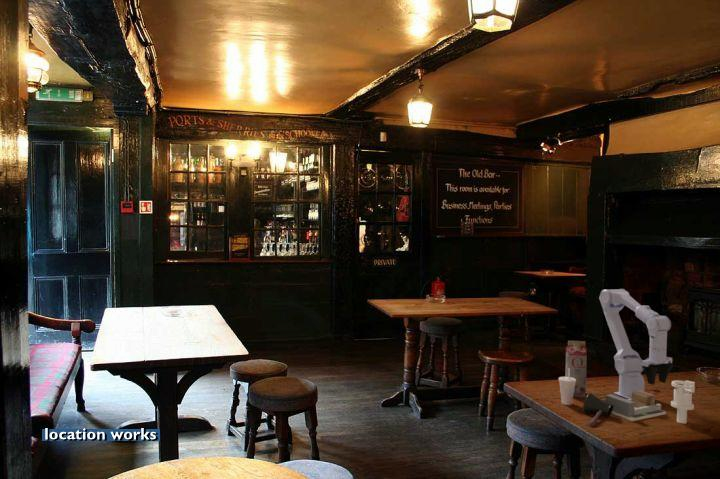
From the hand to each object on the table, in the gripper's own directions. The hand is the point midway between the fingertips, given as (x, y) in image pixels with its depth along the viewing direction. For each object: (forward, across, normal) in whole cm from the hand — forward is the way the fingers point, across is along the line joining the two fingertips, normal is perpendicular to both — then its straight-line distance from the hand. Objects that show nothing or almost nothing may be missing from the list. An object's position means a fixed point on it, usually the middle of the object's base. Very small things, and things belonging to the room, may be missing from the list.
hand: (656, 383), depth 208 cm
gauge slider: (+8, -8, -2) cm, 11 cm away
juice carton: (+10, -16, +24) cm, 31 cm away
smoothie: (+10, -28, +17) cm, 35 cm away
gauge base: (+9, -12, 0) cm, 16 cm away
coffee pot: (+10, -32, +2) cm, 33 cm away
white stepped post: (+10, -6, -14) cm, 18 cm away
